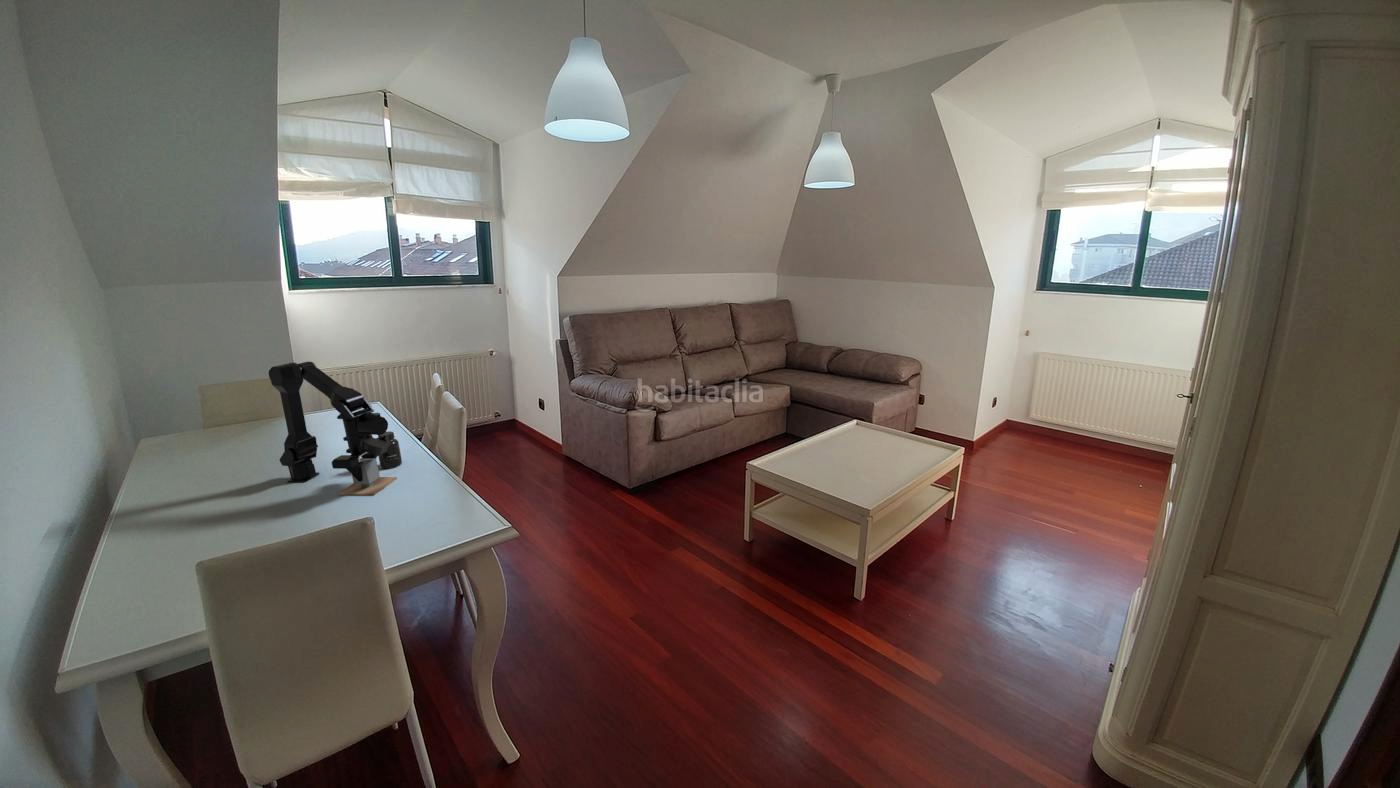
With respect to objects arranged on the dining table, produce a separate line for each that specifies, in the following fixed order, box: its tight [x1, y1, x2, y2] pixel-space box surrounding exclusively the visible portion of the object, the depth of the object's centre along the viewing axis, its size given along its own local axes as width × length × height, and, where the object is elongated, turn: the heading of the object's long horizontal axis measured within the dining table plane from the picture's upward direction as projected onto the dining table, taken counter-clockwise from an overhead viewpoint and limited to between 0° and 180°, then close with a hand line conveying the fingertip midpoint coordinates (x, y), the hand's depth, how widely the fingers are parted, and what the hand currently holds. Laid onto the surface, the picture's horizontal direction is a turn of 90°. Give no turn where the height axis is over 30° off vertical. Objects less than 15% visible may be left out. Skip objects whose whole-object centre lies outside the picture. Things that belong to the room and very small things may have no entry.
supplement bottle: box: [377, 431, 403, 470], centre depth 189 cm, size 7×7×12 cm
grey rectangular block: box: [351, 457, 381, 484], centre depth 172 cm, size 5×5×7 cm
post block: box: [336, 476, 398, 496], centre depth 173 cm, size 12×12×6 cm
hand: (366, 477), depth 173 cm, fingers closed on grey rectangular block, 5 cm apart
